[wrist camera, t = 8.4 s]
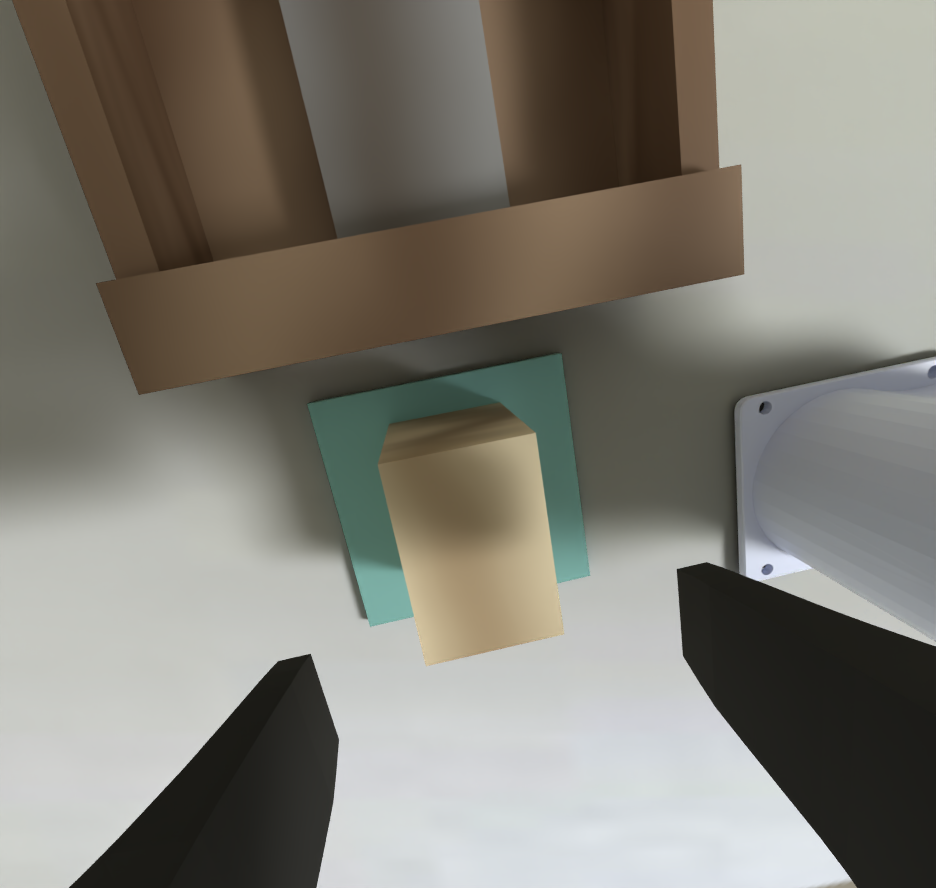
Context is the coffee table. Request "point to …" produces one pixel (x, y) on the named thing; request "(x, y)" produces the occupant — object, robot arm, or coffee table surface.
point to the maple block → (471, 530)
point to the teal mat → (369, 414)
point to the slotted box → (382, 166)
